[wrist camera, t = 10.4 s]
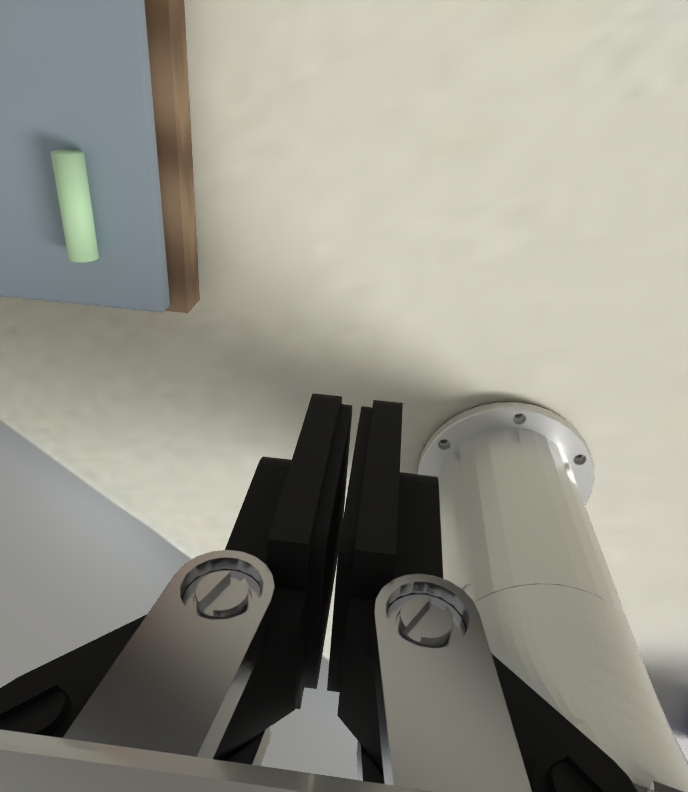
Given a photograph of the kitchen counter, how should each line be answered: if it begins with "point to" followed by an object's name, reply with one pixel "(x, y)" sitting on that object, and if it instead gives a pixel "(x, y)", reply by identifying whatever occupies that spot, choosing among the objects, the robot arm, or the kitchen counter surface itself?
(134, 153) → the plate
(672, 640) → the kitchen counter surface
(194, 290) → the wooden board
